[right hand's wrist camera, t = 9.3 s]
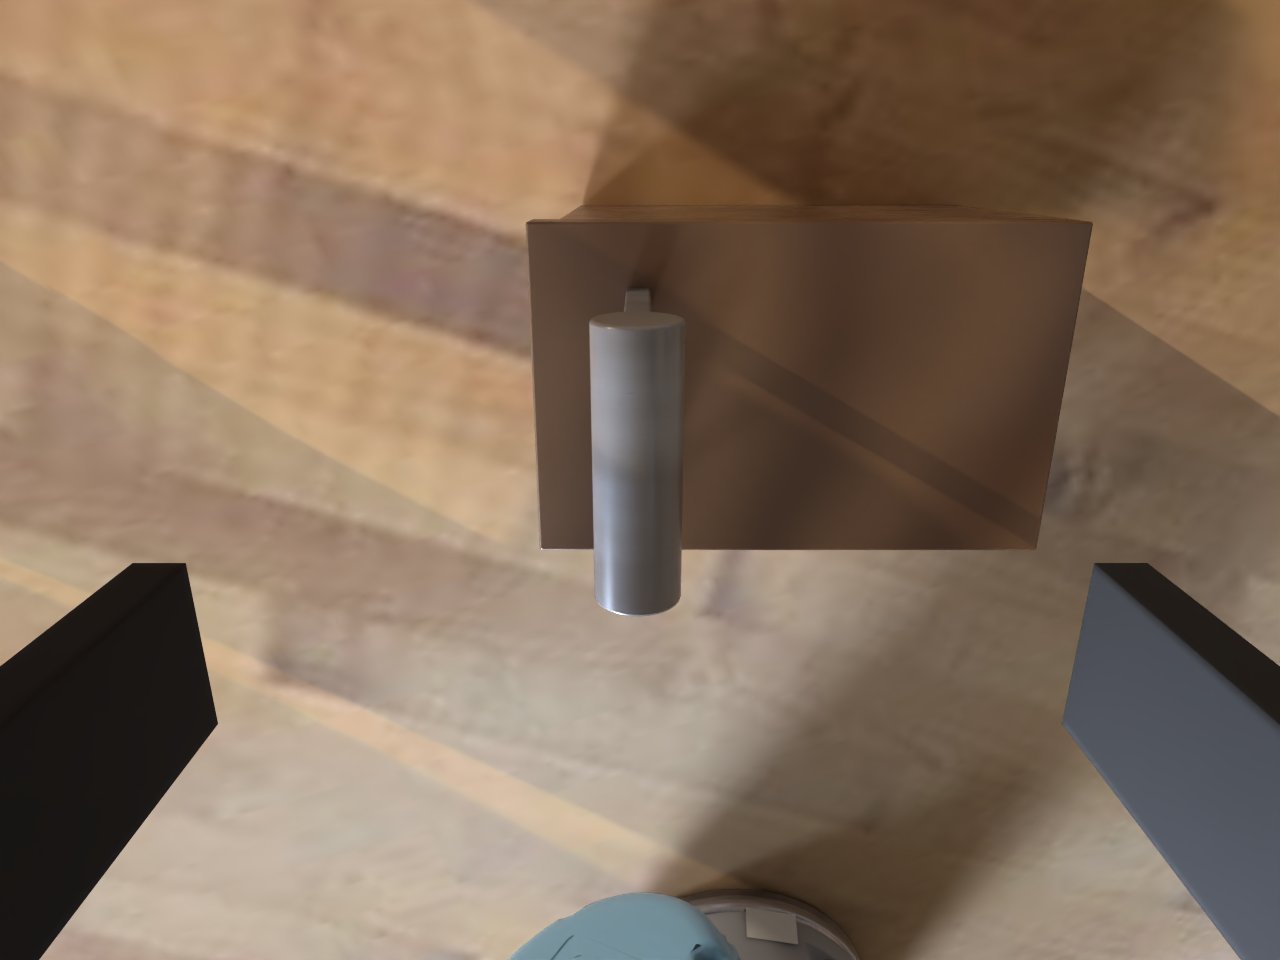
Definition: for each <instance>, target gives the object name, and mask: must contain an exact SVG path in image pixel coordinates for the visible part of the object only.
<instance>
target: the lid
mask: <svg viewBox="0 0 1280 960" xmlns="http://www.w3.org/2000/svg"><path fill="white" fill-rule="evenodd" d="M1092 225H1093V224H1092V222H1089V221H1081V220H1072V219H533V220H531V221H528V222H526V242H527V264H528V287H529V310H530V332H531V355H532V378H533V400H534V423H535V446H536V469H537V491H538V514H539V537H540V549H541V550H594V580H595V598H596V600H597V602H598V603H599V604H600V606H602V607H603V608H605V609H606V610H608V611H611V612H613V613H617V614H621V615H627V616H649V615H655V614H659V613H662V612H665V611H667V610H669V609H671V608H672V607H674V606H675V605H676V604H677V603H678V601H679V599H680V596H681V552H682V550H1036V547H1037V541H1038V535H1039V529H1040V524H1041V518H1042V512H1043V506H1044V501H1045V495H1046V489H1047V484H1048V478H1049V472H1050V466H1051V461H1052V455H1053V449H1054V443H1055V438H1056V432H1057V426H1058V420H1059V415H1060V409H1061V403H1062V397H1063V392H1064V386H1065V380H1066V374H1067V369H1068V363H1069V357H1070V351H1071V346H1072V340H1073V334H1074V328H1075V323H1076V317H1077V311H1078V306H1079V300H1080V294H1081V288H1082V283H1083V277H1084V271H1085V265H1086V260H1087V254H1088V248H1089V242H1090V237H1091V231H1092Z"/></svg>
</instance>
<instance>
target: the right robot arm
mask: <svg viewBox="0 0 1280 960" xmlns="http://www.w3.org/2000/svg"><path fill="white" fill-rule="evenodd" d="M217 724H218V722H217V717H216V712H215V707H214V702H213V697H212V692H211V687H210V682H209V677H208V672H207V667H206V662H205V657H204V652H203V647H202V642H201V637H200V632H199V627H198V622H197V617H196V612H195V607H194V602H193V597H192V592H191V587H190V582H189V577H188V572H187V567H186V563H132V564H131V565H130V566H128V567H127V568H126V569H125V570H123V571H122V572H121V573H119V574H118V575H117V576H116V577H114V578H113V579H112V580H110V581H109V582H108V583H107V584H105V585H104V586H103V587H101V588H100V589H99V590H98V591H96V592H95V593H94V594H93V595H91V596H90V597H89V598H87V599H86V600H85V601H84V602H82V603H81V604H80V605H78V606H77V607H76V608H75V609H73V610H72V611H71V612H69V613H68V614H67V615H66V616H64V617H63V618H62V619H60V620H59V621H58V622H57V623H55V624H54V625H53V626H52V627H50V628H49V629H48V630H46V631H45V632H44V633H43V634H41V635H40V636H39V637H37V638H36V639H35V640H34V641H32V642H31V643H30V644H28V645H27V646H26V647H25V648H23V649H22V650H21V651H19V652H18V653H17V654H16V655H14V656H13V657H12V658H11V659H9V660H8V661H7V662H5V663H4V664H3V665H2V666H0V960H39V959H40V958H41V957H42V955H43V954H44V953H45V951H46V950H47V949H48V947H49V946H50V945H51V943H52V942H53V941H54V939H55V938H56V937H57V935H58V934H59V933H60V931H61V930H62V929H63V928H64V926H65V925H66V924H67V922H68V921H69V920H70V918H71V917H72V916H73V914H74V913H75V912H76V910H77V909H78V908H79V906H80V905H81V904H82V902H83V901H84V900H85V898H86V897H87V896H88V895H89V893H90V892H91V891H92V889H93V888H94V887H95V885H96V884H97V883H98V881H99V880H100V879H101V877H102V876H103V875H104V873H105V872H106V871H107V869H108V868H109V867H110V866H111V864H112V863H113V862H114V860H115V859H116V858H117V856H118V855H119V854H120V852H121V851H122V850H123V848H124V847H125V846H126V844H127V843H128V842H129V840H130V839H131V838H132V837H133V835H134V834H135V833H136V831H137V830H138V829H139V827H140V826H141V825H142V823H143V822H144V821H145V819H146V818H147V817H148V815H149V814H150V813H151V811H152V810H153V809H154V808H155V806H156V805H157V804H158V802H159V801H160V800H161V798H162V797H163V796H164V794H165V793H166V792H167V790H168V789H169V788H170V786H171V785H172V784H173V782H174V781H175V780H176V778H177V777H178V776H179V775H180V773H181V772H182V771H183V769H184V768H185V767H186V765H187V764H188V763H189V761H190V760H191V759H192V757H193V756H194V755H195V753H196V752H197V751H198V749H199V748H200V747H201V746H202V744H203V743H204V742H205V740H206V739H207V738H208V736H209V735H210V734H211V732H212V731H213V730H214V728H215V727H216V726H217ZM1062 724H1063V726H1064V727H1065V728H1066V730H1067V731H1068V732H1069V734H1070V735H1071V736H1072V738H1073V739H1074V740H1075V742H1076V743H1077V744H1078V746H1079V747H1080V748H1081V749H1082V751H1083V752H1084V753H1085V755H1086V756H1087V757H1088V759H1089V760H1090V761H1091V763H1092V764H1093V765H1094V767H1095V768H1096V769H1097V771H1098V772H1099V773H1100V775H1101V776H1102V777H1103V778H1104V780H1105V781H1106V782H1107V784H1108V785H1109V786H1110V788H1111V789H1112V790H1113V792H1114V793H1115V794H1116V796H1117V797H1118V798H1119V800H1120V801H1121V802H1122V804H1123V805H1124V806H1125V808H1126V809H1127V810H1128V811H1129V813H1130V814H1131V815H1132V817H1133V818H1134V819H1135V821H1136V822H1137V823H1138V825H1139V826H1140V827H1141V829H1142V830H1143V831H1144V833H1145V834H1146V835H1147V837H1148V838H1149V839H1150V840H1151V842H1152V843H1153V844H1154V846H1155V847H1156V848H1157V850H1158V851H1159V852H1160V854H1161V855H1162V856H1163V858H1164V859H1165V860H1166V862H1167V863H1168V864H1169V866H1170V867H1171V868H1172V869H1173V871H1174V872H1175V873H1176V875H1177V876H1178V877H1179V879H1180V880H1181V881H1182V883H1183V884H1184V885H1185V887H1186V888H1187V889H1188V891H1189V892H1190V893H1191V895H1192V896H1193V897H1194V898H1195V900H1196V901H1197V902H1198V904H1199V905H1200V906H1201V908H1202V909H1203V910H1204V912H1205V913H1206V914H1207V916H1208V917H1209V918H1210V920H1211V921H1212V922H1213V924H1214V925H1215V926H1216V928H1217V929H1218V930H1219V931H1220V933H1221V934H1222V935H1223V937H1224V938H1225V939H1226V941H1227V942H1228V943H1229V945H1230V946H1231V947H1232V949H1233V950H1234V951H1235V953H1236V954H1237V955H1238V957H1239V958H1240V959H1241V960H1280V666H1278V665H1277V664H1276V663H1275V662H1273V661H1272V660H1271V659H1269V658H1268V657H1267V656H1266V655H1264V654H1263V653H1262V652H1261V651H1259V650H1258V649H1257V648H1255V647H1254V646H1253V645H1252V644H1250V643H1249V642H1248V641H1246V640H1245V639H1244V638H1243V637H1241V636H1240V635H1239V634H1237V633H1236V632H1235V631H1234V630H1232V629H1231V628H1230V627H1228V626H1227V625H1226V624H1225V623H1223V622H1222V621H1221V620H1220V619H1218V618H1217V617H1216V616H1214V615H1213V614H1212V613H1211V612H1209V611H1208V610H1207V609H1205V608H1204V607H1203V606H1202V605H1200V604H1199V603H1198V602H1196V601H1195V600H1194V599H1193V598H1191V597H1190V596H1189V595H1187V594H1186V593H1185V592H1184V591H1182V590H1181V589H1180V588H1179V587H1177V586H1176V585H1175V584H1173V583H1172V582H1171V581H1170V580H1168V579H1167V578H1166V577H1164V576H1163V575H1162V574H1161V573H1159V572H1158V571H1157V570H1155V569H1154V568H1153V567H1152V566H1150V565H1149V564H1148V563H1094V567H1093V572H1092V577H1091V582H1090V587H1089V592H1088V597H1087V602H1086V607H1085V612H1084V617H1083V622H1082V627H1081V632H1080V637H1079V642H1078V647H1077V652H1076V657H1075V662H1074V667H1073V672H1072V677H1071V682H1070V687H1069V692H1068V697H1067V702H1066V707H1065V712H1064V717H1063V722H1062Z"/></svg>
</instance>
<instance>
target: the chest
mask: <svg viewBox="0 0 1280 960" xmlns="http://www.w3.org/2000/svg"><path fill="white" fill-rule="evenodd" d="M561 219H1064V218H1056V217H1048V216H1039V215H1031V214H1023V213H1015V212H1006V211H998V210H990V209H982V208H973V207H965V206H580V207H578V208H577V209H575V210H573V211H572V212H570V213H569V214H567V215H566V216H564V217H563V218H561Z"/></svg>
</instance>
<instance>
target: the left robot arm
mask: <svg viewBox="0 0 1280 960" xmlns="http://www.w3.org/2000/svg"><path fill="white" fill-rule="evenodd" d="M508 960H860V958H859V956H858V953H857V951H856V949H855V947H854V945H853V944H852V942H851V941H850V939H849V938H848V936H847V935H846V934H845V933H844V932H843V930H842V929H841V928H840V927H839V926H838V925H837V924H836V923H834V922H833V921H832V920H831V919H830V918H828V917H827V916H826V915H824V914H823V913H821V912H820V911H818V910H816V909H815V908H813V907H811V906H809V905H807V904H805V903H803V902H801V901H798V900H795V899H793V898H790V897H787V896H783V895H780V894H776V893H771V892H766V891H759V890H750V889H722V890H714V891H707V892H701V893H696V894H692V895H689V896H685V897H682V898H679V899H678V898H675V897H672V896H668V895H663V894H656V893H630V894H623V895H618V896H614V897H610V898H607V899H603V900H600V901H597V902H594V903H592V904H589V905H587V906H585V907H584V908H583V909H582V910H580V911H578V912H577V913H575V914H574V915H572V916H569V917H567V918H564V919H559V920H557V921H556V922H554V923H553V924H551V925H550V926H548V927H547V928H545V929H544V930H542V931H541V932H540V933H538V934H537V935H536V936H535V937H533V938H532V939H531V940H530V941H528V942H527V943H526V944H525V945H523V946H522V947H521V948H520V949H519V950H518V951H517V952H515V953H514V954H513V955H512V956H511V957H510V958H509V959H508Z"/></svg>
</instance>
